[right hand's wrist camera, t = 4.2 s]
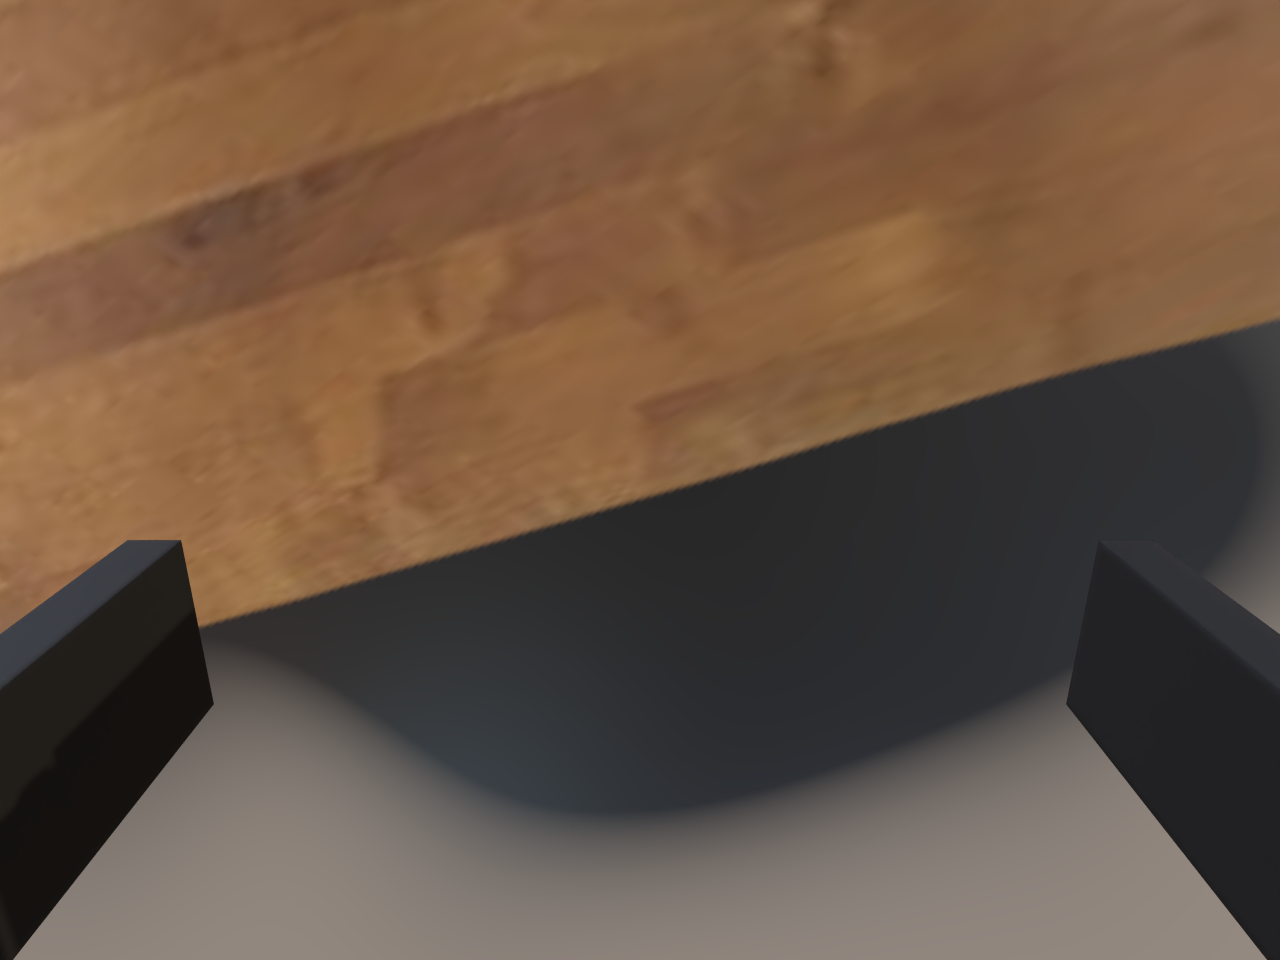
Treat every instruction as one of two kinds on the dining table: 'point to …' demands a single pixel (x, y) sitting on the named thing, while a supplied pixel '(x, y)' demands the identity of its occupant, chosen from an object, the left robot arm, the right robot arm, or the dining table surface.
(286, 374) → the dining table surface
